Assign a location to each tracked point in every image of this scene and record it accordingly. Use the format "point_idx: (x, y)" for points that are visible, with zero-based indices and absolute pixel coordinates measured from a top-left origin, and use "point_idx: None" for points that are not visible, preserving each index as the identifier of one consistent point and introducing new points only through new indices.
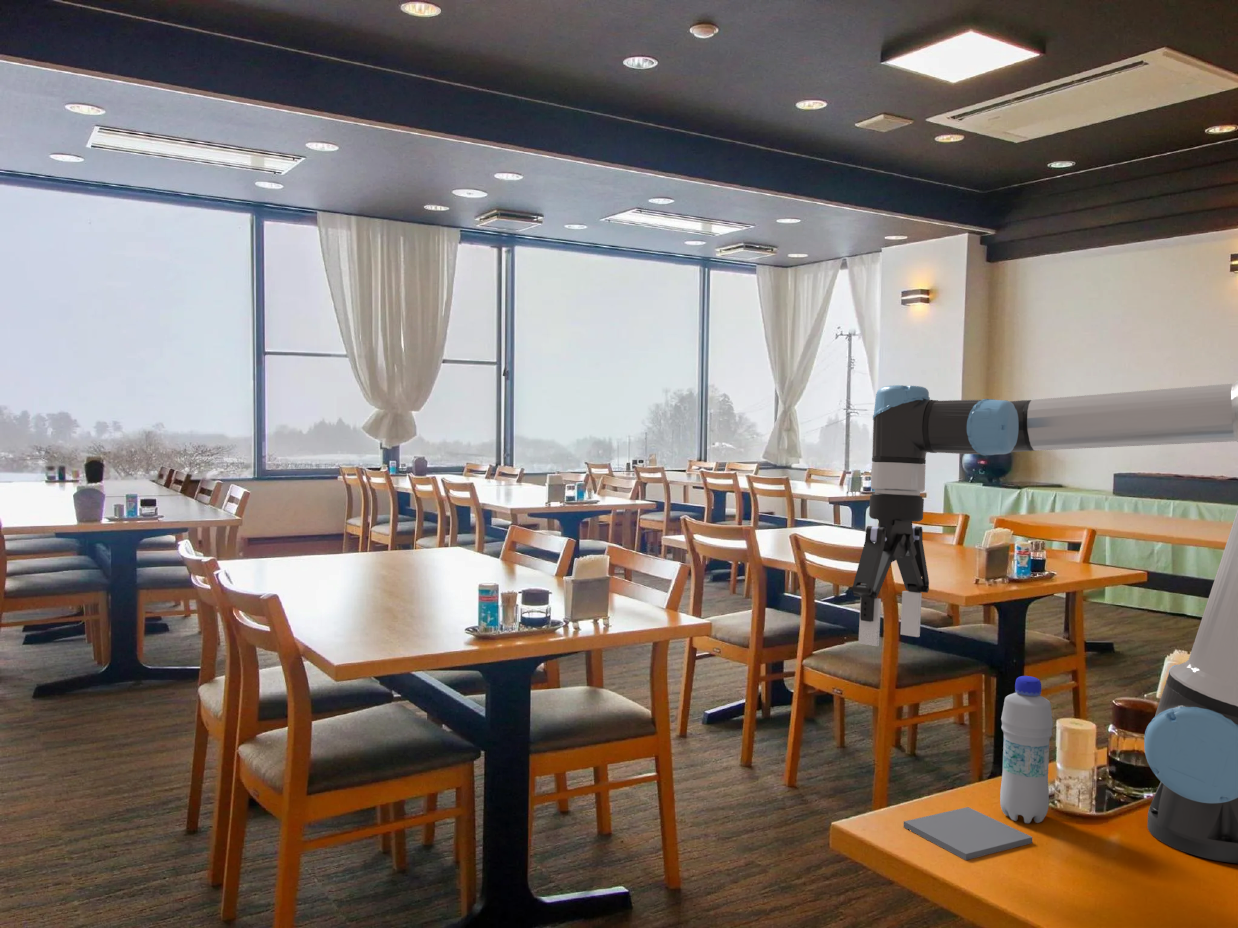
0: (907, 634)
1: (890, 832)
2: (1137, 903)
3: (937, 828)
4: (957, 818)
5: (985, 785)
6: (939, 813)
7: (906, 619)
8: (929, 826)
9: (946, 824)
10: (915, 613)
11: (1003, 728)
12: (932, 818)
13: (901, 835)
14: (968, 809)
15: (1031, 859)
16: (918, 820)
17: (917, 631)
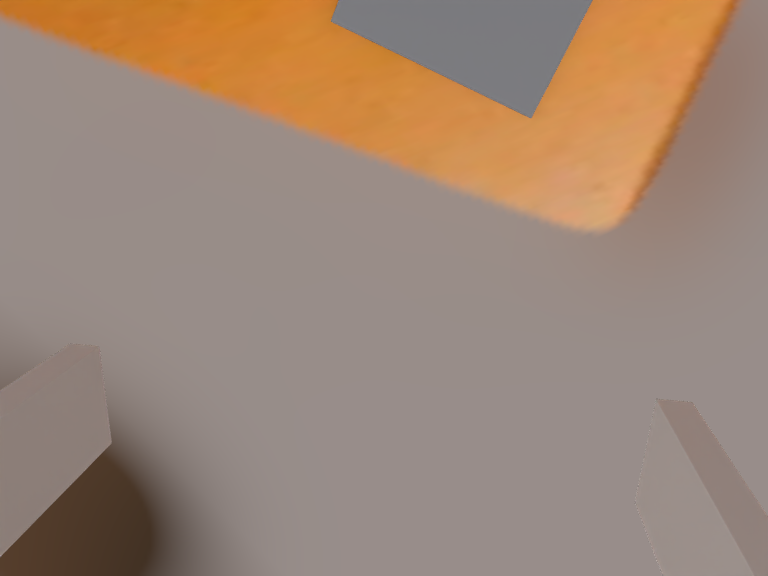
0: (102, 407)
1: (578, 130)
2: None
3: (521, 32)
4: (425, 14)
5: (118, 53)
6: (424, 65)
7: (47, 469)
8: (522, 53)
9: (483, 22)
10: (1, 443)
11: None
12: (466, 67)
13: (580, 101)
14: (347, 13)
15: None
16: (502, 91)
17: (79, 362)
